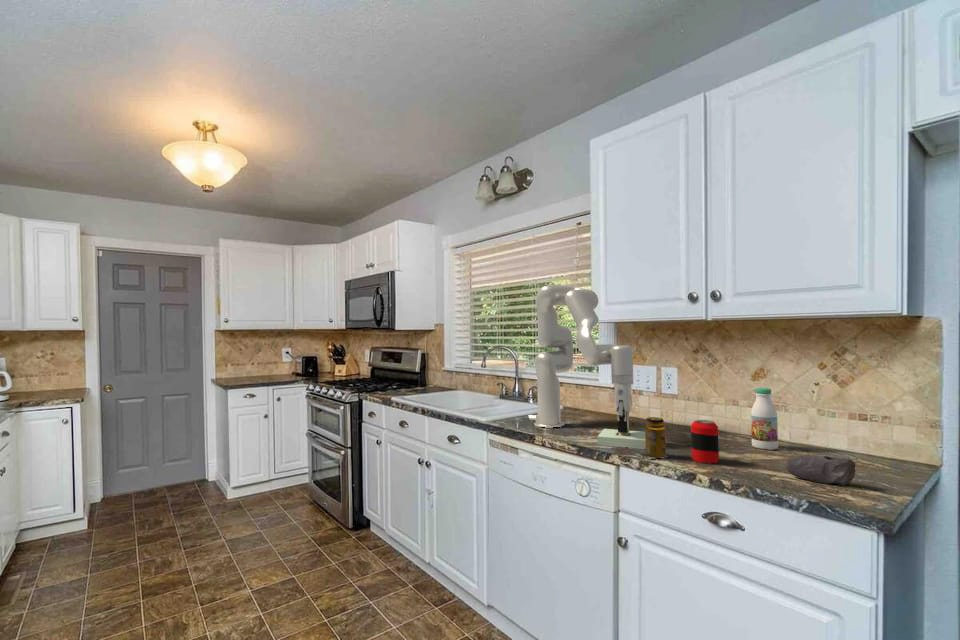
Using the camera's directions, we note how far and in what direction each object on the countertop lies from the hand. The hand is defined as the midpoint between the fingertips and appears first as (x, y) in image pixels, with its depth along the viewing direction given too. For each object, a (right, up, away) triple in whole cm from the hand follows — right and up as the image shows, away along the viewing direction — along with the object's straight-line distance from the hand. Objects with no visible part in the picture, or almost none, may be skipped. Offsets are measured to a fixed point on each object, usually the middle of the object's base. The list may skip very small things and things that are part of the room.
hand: (623, 430), depth 169 cm
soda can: (+18, -4, -24) cm, 30 cm away
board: (0, -4, 0) cm, 4 cm away
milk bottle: (+45, -4, -9) cm, 46 cm away
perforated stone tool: (+38, -3, -45) cm, 59 cm away
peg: (0, -3, 0) cm, 3 cm away
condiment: (+4, -4, -18) cm, 19 cm away
